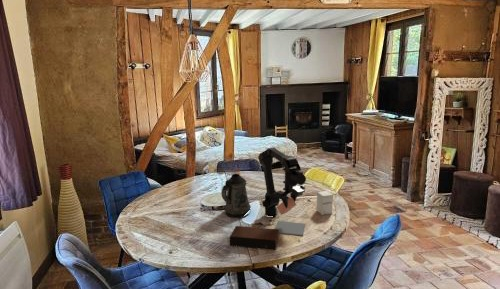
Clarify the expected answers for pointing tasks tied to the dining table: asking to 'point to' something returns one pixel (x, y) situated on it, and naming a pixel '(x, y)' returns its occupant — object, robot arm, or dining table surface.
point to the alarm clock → (254, 237)
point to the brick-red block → (291, 204)
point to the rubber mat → (290, 228)
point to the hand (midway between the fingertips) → (289, 206)
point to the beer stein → (235, 197)
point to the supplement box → (324, 202)
